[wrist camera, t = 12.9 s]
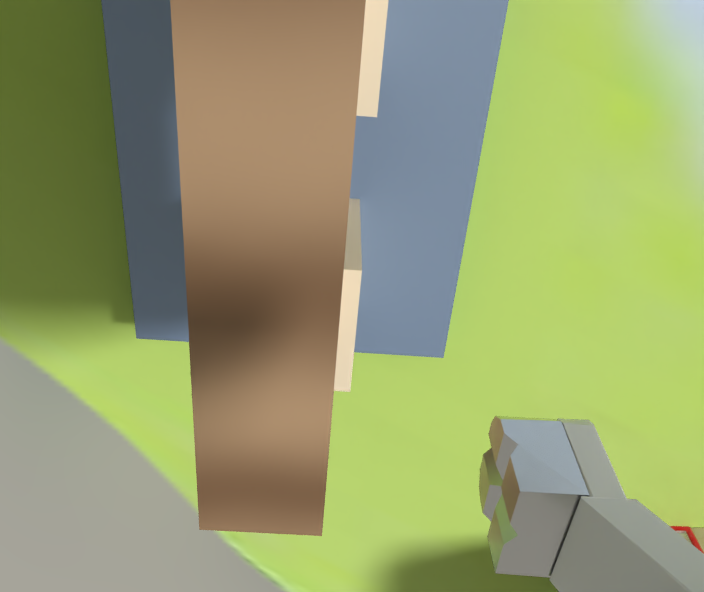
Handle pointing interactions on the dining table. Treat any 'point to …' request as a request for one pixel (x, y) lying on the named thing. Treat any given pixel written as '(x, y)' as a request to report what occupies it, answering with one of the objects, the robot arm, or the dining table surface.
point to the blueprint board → (367, 168)
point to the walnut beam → (264, 245)
